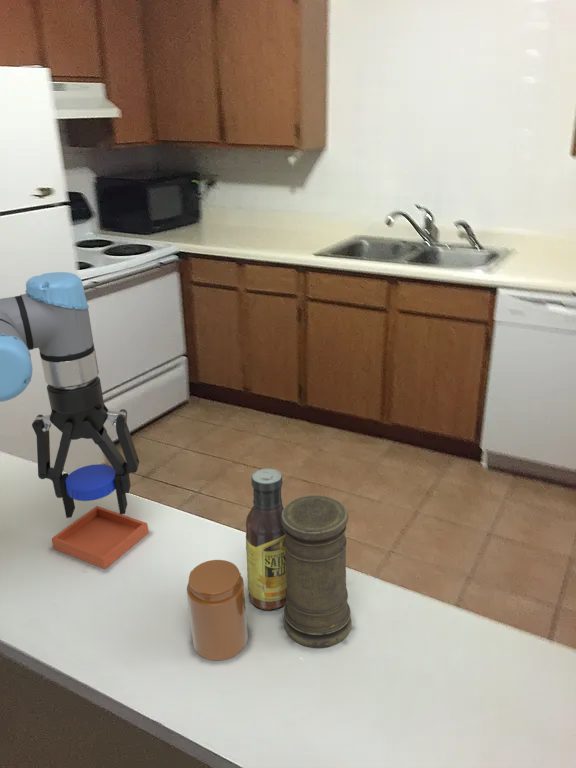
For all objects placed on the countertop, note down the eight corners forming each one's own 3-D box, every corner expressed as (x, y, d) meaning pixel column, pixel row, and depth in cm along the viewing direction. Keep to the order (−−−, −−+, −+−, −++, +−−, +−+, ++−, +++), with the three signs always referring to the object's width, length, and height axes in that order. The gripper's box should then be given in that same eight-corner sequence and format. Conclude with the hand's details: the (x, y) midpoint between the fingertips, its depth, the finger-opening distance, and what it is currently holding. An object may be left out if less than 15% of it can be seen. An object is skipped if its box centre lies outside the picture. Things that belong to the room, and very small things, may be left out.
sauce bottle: (271, 619, 91) (263, 495, 83) (239, 598, 95) (229, 479, 87) (302, 594, 96) (298, 474, 88) (271, 575, 99) (264, 459, 92)
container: (361, 639, 87) (362, 525, 80) (295, 656, 85) (290, 540, 78) (337, 594, 95) (336, 487, 88) (276, 609, 93) (270, 499, 86)
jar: (191, 662, 85) (183, 597, 80) (194, 621, 91) (187, 559, 87) (248, 658, 85) (243, 593, 81) (247, 617, 92) (242, 555, 87)
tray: (53, 548, 107) (51, 538, 106) (98, 515, 115) (96, 505, 115) (105, 569, 102) (103, 558, 101) (148, 533, 110) (147, 522, 109)
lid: (122, 472, 108) (120, 462, 108) (113, 499, 101) (111, 488, 100) (73, 475, 108) (71, 465, 107) (61, 502, 101) (59, 492, 100)
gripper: (147, 365, 101) (164, 493, 110) (9, 374, 100) (38, 502, 110) (140, 385, 94) (159, 520, 104) (-8, 395, 93) (25, 529, 103)
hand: (97, 510), depth 107 cm, fingers closed on lid, 8 cm apart
